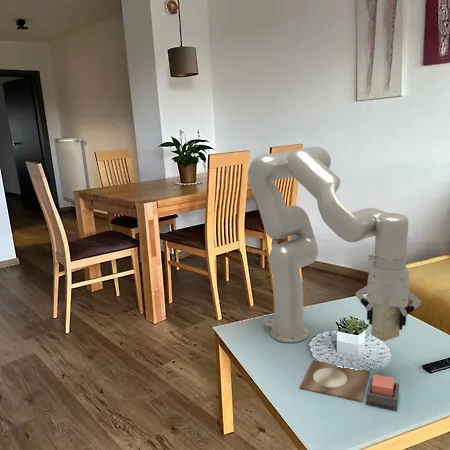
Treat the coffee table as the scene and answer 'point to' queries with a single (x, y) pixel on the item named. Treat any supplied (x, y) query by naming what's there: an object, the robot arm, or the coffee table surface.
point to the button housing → (382, 398)
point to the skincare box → (385, 321)
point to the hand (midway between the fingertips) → (385, 324)
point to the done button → (383, 385)
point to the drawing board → (336, 381)
